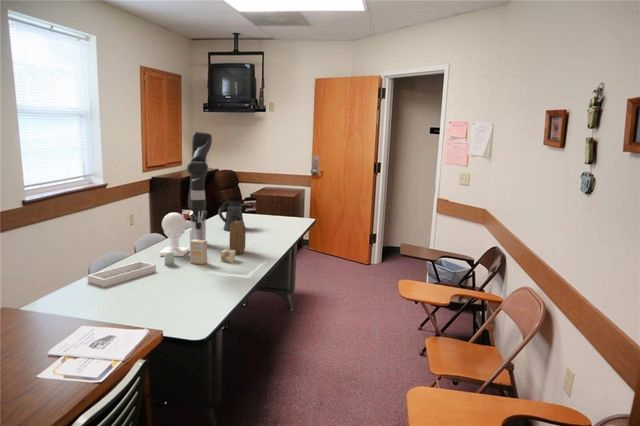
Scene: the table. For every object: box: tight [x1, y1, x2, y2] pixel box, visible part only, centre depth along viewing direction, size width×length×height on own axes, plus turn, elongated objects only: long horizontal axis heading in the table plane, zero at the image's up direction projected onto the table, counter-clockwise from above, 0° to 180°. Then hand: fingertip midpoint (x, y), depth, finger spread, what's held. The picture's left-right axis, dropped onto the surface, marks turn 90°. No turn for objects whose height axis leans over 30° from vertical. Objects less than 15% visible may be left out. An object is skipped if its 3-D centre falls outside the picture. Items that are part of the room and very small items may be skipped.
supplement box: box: [189, 239, 208, 266], centre depth 230 cm, size 8×5×13 cm, turn 71°
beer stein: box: [217, 198, 246, 233], centre depth 311 cm, size 16×19×25 cm
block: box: [229, 220, 247, 255], centre depth 255 cm, size 11×8×20 cm
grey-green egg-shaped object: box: [163, 251, 175, 267], centre depth 226 cm, size 5×5×7 cm
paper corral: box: [86, 260, 157, 288], centre depth 204 cm, size 12×29×4 cm, turn 152°
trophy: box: [158, 212, 190, 257], centre depth 248 cm, size 14×14×25 cm
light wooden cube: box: [220, 248, 236, 264], centre depth 238 cm, size 6×6×6 cm
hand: (198, 229), depth 228 cm, fingers closed
